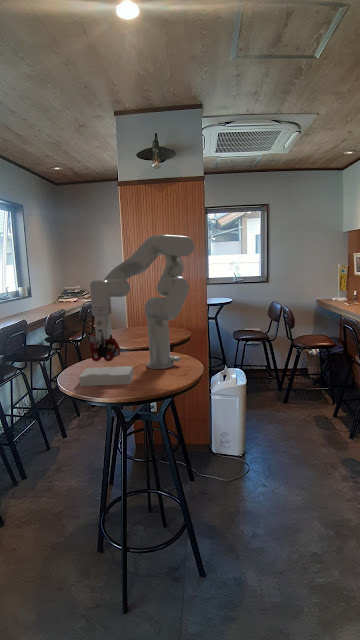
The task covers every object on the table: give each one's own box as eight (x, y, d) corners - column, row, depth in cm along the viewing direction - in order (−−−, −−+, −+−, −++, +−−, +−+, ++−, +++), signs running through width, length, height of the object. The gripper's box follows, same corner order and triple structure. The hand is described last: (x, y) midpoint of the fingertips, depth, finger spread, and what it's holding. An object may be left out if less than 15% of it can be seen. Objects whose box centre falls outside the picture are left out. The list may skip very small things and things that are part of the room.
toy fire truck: (117, 361, 148) (115, 336, 146) (87, 361, 149) (85, 336, 147) (122, 356, 154) (120, 332, 153) (93, 357, 156) (91, 332, 154)
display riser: (133, 375, 159) (132, 366, 158) (129, 384, 148) (129, 374, 147) (86, 377, 159) (86, 368, 158) (80, 386, 148) (79, 376, 148)
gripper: (106, 314, 140) (110, 359, 143) (114, 307, 157) (117, 348, 160) (86, 314, 140) (90, 360, 143) (97, 308, 157) (100, 348, 160)
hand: (104, 353), depth 151 cm, fingers closed on toy fire truck, 7 cm apart
